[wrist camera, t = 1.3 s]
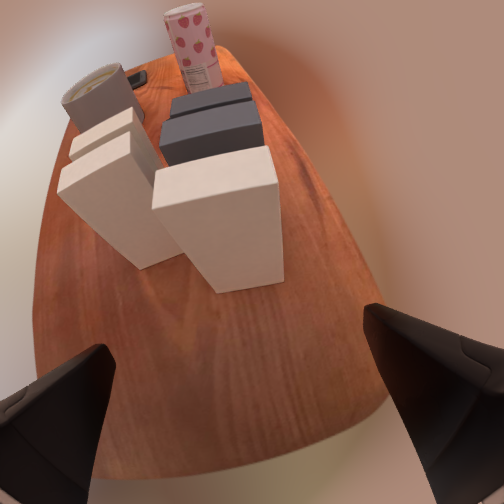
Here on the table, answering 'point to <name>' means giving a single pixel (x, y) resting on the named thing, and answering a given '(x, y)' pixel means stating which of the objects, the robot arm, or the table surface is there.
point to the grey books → (211, 124)
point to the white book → (225, 217)
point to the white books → (118, 189)
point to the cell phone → (137, 79)
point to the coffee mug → (100, 97)
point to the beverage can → (194, 47)
